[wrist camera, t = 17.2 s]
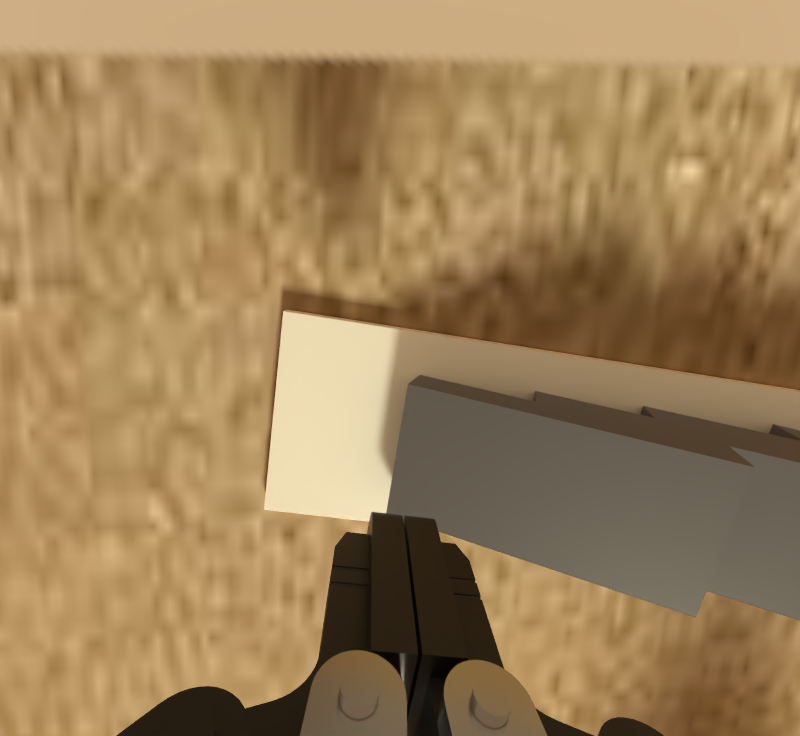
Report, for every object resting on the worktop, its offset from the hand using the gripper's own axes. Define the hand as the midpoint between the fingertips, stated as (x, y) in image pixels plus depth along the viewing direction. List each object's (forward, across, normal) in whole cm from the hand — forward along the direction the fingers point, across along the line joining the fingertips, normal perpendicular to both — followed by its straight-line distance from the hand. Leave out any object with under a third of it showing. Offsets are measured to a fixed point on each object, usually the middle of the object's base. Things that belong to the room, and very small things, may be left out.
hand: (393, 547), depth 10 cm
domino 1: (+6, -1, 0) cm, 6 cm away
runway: (+7, -8, 0) cm, 11 cm away
